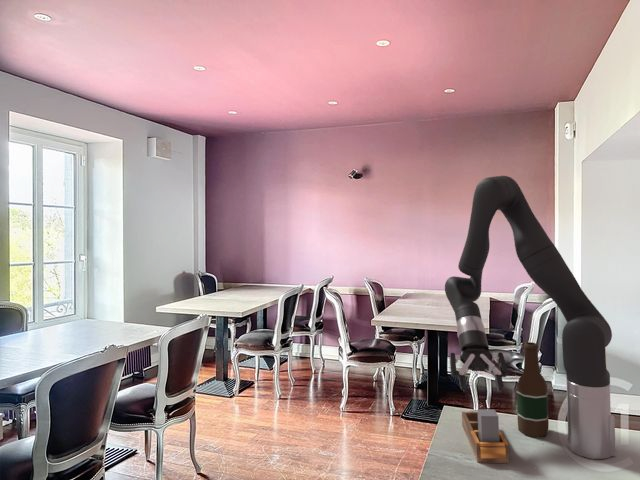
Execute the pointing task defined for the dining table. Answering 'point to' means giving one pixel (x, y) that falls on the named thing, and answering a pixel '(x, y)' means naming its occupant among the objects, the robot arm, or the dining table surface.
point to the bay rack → (484, 450)
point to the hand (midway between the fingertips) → (482, 391)
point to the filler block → (488, 425)
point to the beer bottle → (532, 396)
